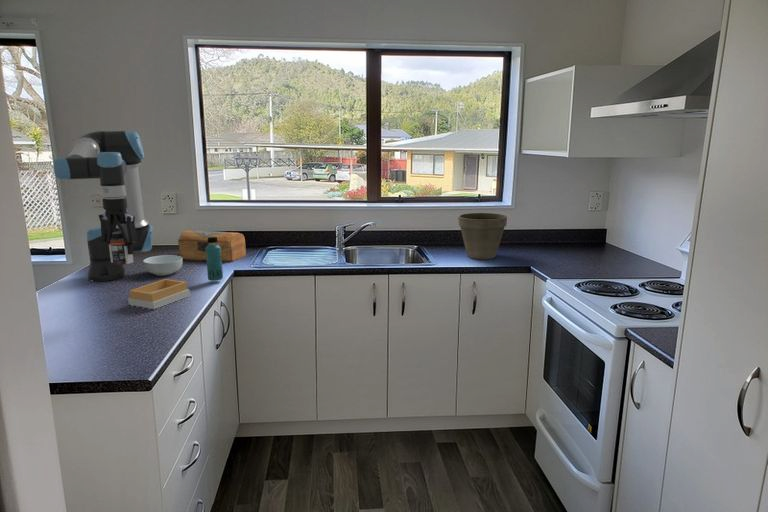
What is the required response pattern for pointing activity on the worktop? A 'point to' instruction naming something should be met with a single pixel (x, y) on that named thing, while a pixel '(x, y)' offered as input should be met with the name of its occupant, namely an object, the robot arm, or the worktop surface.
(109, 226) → the robot arm
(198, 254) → the wooden box
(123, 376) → the worktop surface
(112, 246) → the supplement bottle
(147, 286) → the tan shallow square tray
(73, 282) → the worktop surface
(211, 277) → the beverage bottle
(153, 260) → the cereal bowl
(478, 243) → the plant pot
